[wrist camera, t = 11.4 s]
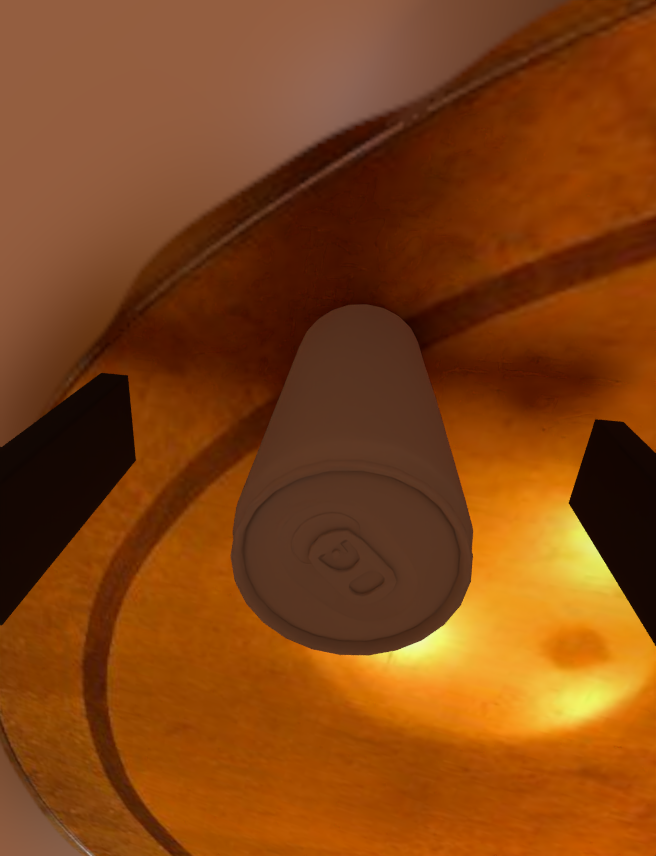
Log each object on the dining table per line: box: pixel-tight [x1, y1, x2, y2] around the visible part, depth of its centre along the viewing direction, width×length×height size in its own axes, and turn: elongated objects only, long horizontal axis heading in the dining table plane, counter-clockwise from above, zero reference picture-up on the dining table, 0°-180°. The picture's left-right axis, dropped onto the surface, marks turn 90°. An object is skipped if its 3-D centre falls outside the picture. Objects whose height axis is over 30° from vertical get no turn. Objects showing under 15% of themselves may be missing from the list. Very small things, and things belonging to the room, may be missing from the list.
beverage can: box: [231, 304, 473, 655], centre depth 15 cm, size 5×5×12 cm
